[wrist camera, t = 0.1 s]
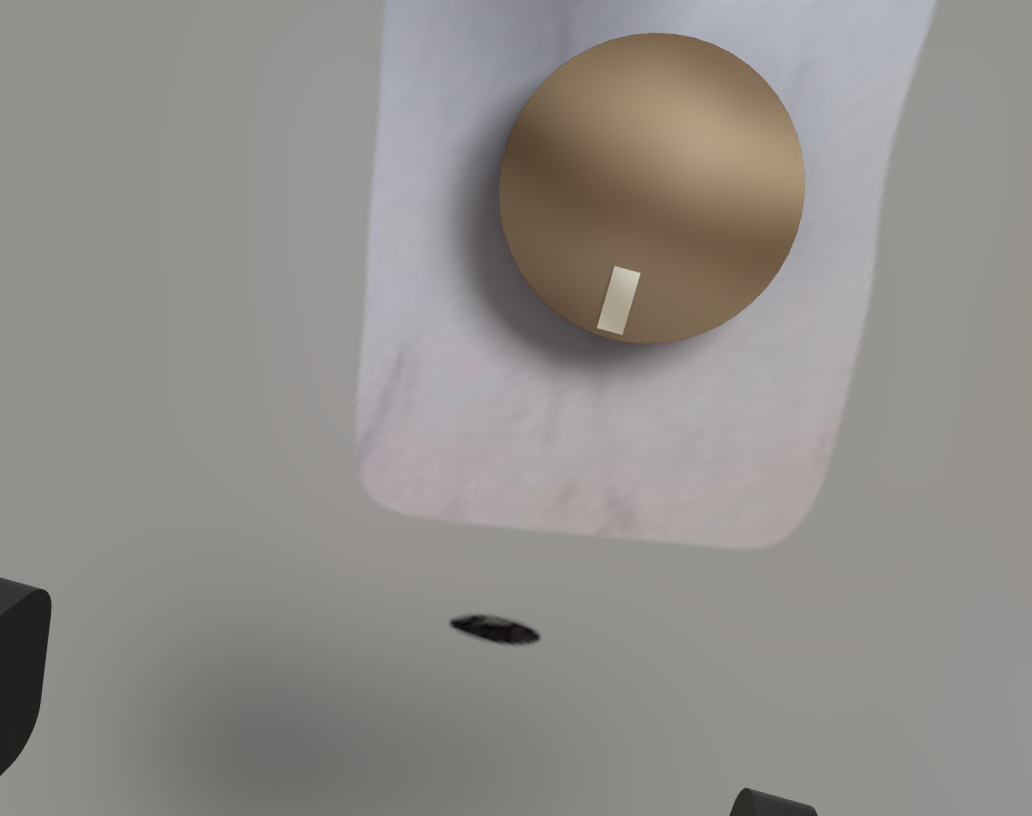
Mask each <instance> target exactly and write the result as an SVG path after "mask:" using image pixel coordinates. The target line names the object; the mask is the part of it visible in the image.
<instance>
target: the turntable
mask: <svg viewBox="0 0 1032 816" xmlns="http://www.w3.org/2000/svg"><path fill="white" fill-rule="evenodd" d="M804 194H805V173H804V165H803V158H802V152H801V148H800V144H799V141H798V137H797V133H796V131H795V128H794V126H793V124H792V121H791V119H790V117H789V114H788V112H787V111H786V109H785V107H784V106H783V104H782V102H781V101H780V99H779V97H778V96H777V94H776V93H775V92H774V91H773V90H772V88H771V87H770V86H769V85H768V83H767V82H766V81H765V80H764V79H763V78H762V77H761V76H760V75H759V74H758V73H757V72H756V71H755V70H754V69H753V68H751V67H750V66H749V65H748V64H746V63H745V62H744V61H742V60H741V59H739V58H738V57H736V56H735V55H733V54H732V53H730V52H728V51H726V50H724V49H722V48H720V47H718V46H716V45H714V44H711V43H708V42H705V41H702V40H699V39H696V38H693V37H687V36H682V35H677V34H663V33H648V34H638V35H630V36H626V37H622V38H617V39H613V40H610V41H607V42H605V43H602V44H599V45H597V46H594V47H592V48H590V49H588V50H586V51H584V52H583V53H581V54H579V55H577V56H575V57H574V58H572V59H571V60H569V61H568V62H567V63H565V64H564V65H563V66H561V67H560V68H558V69H557V70H556V71H555V72H554V73H553V74H552V75H551V76H550V77H549V78H548V79H546V80H545V81H544V82H543V83H542V84H541V86H540V87H539V88H538V89H537V90H536V92H535V93H534V94H533V95H532V97H531V98H530V99H529V100H528V102H527V104H526V105H525V107H524V108H523V110H522V112H521V113H520V115H519V116H518V118H517V120H516V123H515V125H514V127H513V129H512V131H511V134H510V136H509V139H508V142H507V145H506V148H505V152H504V155H503V160H502V165H501V171H500V179H499V206H500V217H501V222H502V226H503V231H504V235H505V238H506V241H507V244H508V247H509V250H510V253H511V255H512V257H513V259H514V261H515V263H516V265H517V267H518V269H519V271H520V272H521V274H522V275H523V277H524V278H525V280H526V281H527V283H528V284H529V286H530V287H531V288H532V289H533V291H534V292H535V293H536V294H537V295H538V296H539V297H540V299H541V300H542V301H543V302H544V303H546V304H547V305H548V306H549V307H550V308H551V309H552V310H554V311H555V312H556V313H557V314H558V315H560V316H561V317H563V318H564V319H566V320H567V321H569V322H570V323H572V324H574V325H576V326H578V327H580V328H582V329H584V330H586V331H588V332H590V333H593V334H596V335H599V336H601V337H604V338H607V339H612V340H617V341H622V342H627V343H640V344H652V343H666V342H672V341H677V340H683V339H686V338H689V337H693V336H696V335H699V334H702V333H704V332H707V331H709V330H711V329H713V328H715V327H717V326H720V325H721V324H723V323H725V322H726V321H728V320H729V319H731V318H733V317H734V316H736V315H737V314H739V313H740V312H741V311H742V310H743V309H745V308H746V307H747V306H748V305H750V304H751V303H752V302H753V301H754V300H755V299H756V298H757V297H758V296H759V295H760V294H761V293H762V292H763V291H764V290H765V289H766V288H767V286H768V285H769V284H770V282H771V281H772V280H773V278H774V277H775V275H776V274H777V273H778V271H779V270H780V268H781V266H782V264H783V263H784V261H785V259H786V257H787V256H788V254H789V252H790V249H791V247H792V244H793V242H794V239H795V237H796V234H797V231H798V227H799V223H800V219H801V216H802V209H803V202H804Z"/></svg>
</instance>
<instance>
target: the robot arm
mask: <svg viewBox="0 0 1032 816" xmlns="http://www.w3.org/2000/svg"><path fill="white" fill-rule="evenodd" d="M51 607H52V606H51V599H50V595H49V594H48V592H47V591H46V590H43V589H39V588H36V587H32V586H29V585H25V584H22V583H18V582H14V581H11V580H7V579H4V578H0V776H1V775H2V774H3V773H4V772H5V771H6V769H7V768H9V767H10V765H11V764H12V763H13V762H14V761H15V760H16V758H17V757H18V756H19V754H20V753H21V751H22V750H23V748H24V746H25V745H26V743H27V741H28V739H29V737H30V735H31V733H32V731H33V728H34V726H35V723H36V720H37V717H38V713H39V709H40V703H41V695H42V686H43V678H44V669H45V661H46V652H47V644H48V635H49V627H50V619H51ZM730 816H817V813H816V811H815V809H814V808H813V807H812V806H809V805H806V804H802V803H799V802H795V801H791V800H788V799H784V798H781V797H777V796H773V795H770V794H766V793H763V792H759V791H755V790H752V789H748V788H744V789H743V790H742V791H741V792H740V793H739V795H738V796H737V798H736V800H735V802H734V805H733V807H732V811H731V813H730Z"/></svg>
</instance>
